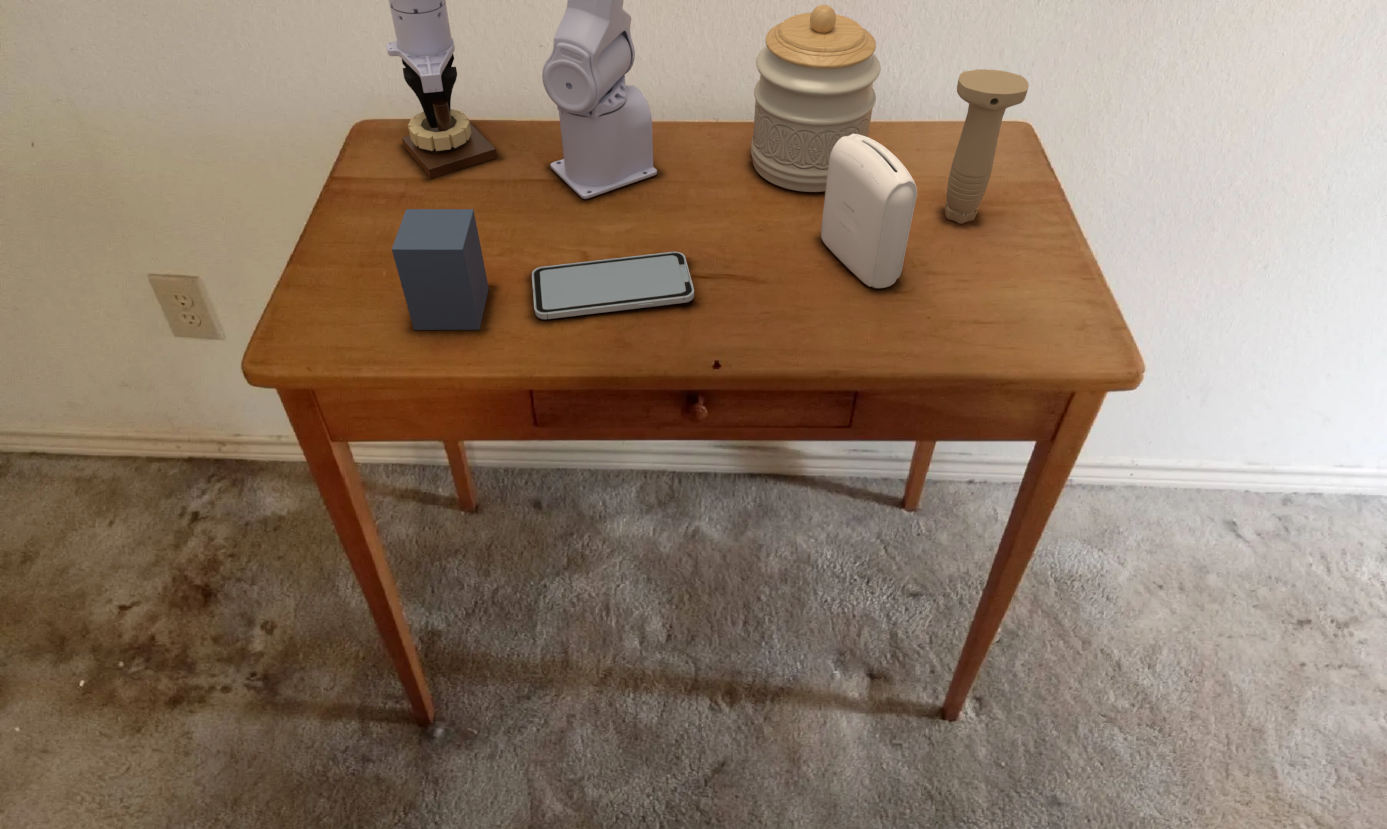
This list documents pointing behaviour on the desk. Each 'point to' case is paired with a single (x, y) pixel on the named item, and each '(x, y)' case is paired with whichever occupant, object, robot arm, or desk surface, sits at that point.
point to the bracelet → (439, 139)
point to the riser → (441, 269)
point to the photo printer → (868, 209)
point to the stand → (454, 158)
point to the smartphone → (611, 285)
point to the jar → (811, 96)
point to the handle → (979, 137)
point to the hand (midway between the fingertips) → (439, 121)
